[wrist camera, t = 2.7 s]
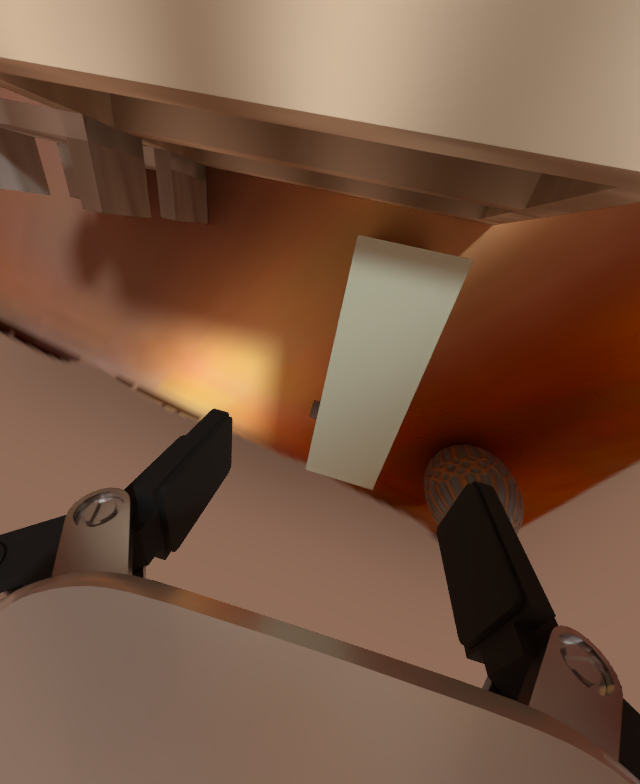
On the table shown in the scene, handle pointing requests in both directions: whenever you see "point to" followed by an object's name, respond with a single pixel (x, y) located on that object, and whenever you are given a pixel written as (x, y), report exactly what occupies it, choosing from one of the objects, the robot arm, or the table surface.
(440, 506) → the vase
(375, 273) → the pale white box
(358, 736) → the robot arm
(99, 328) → the table surface
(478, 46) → the cabinet
